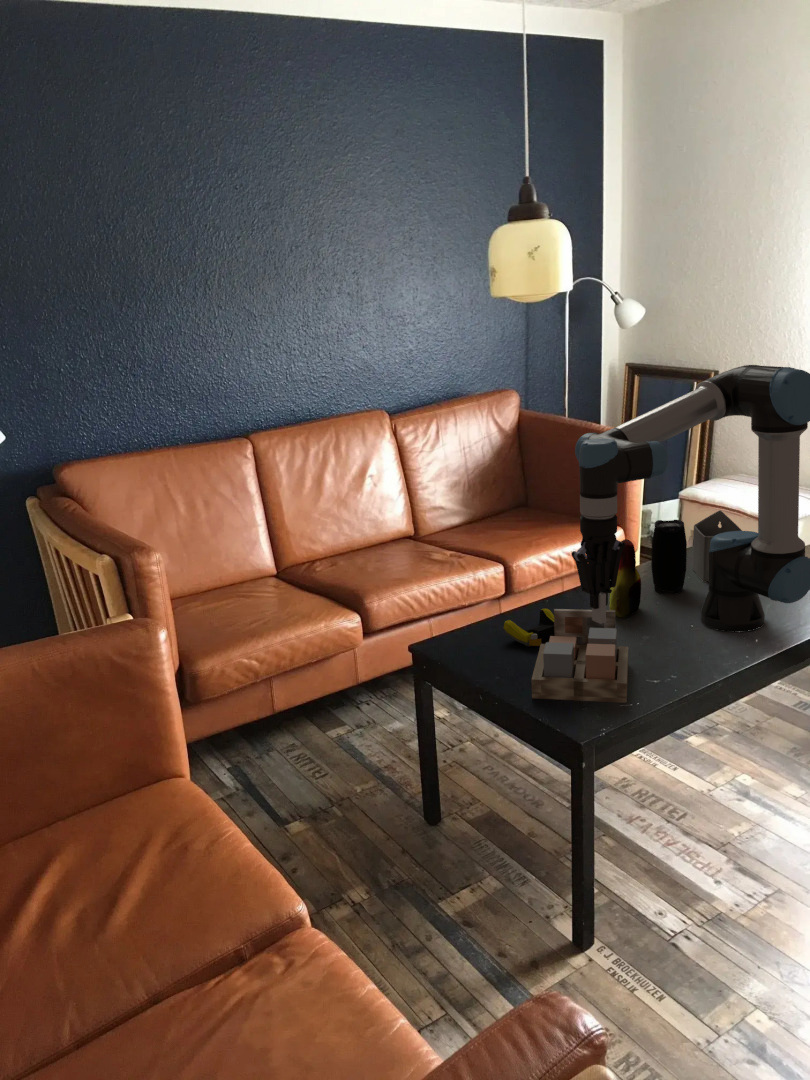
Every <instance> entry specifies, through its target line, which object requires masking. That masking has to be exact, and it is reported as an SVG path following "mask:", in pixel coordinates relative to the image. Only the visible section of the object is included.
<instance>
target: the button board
mask: <svg viewBox="0 0 810 1080" xmlns="http://www.w3.org/2000/svg"><path fill="white" fill-rule="evenodd" d="M553 615H554V630H555V636H567V637H577V660H574V671H573V677H572V678H559V677H544V661H543V653H544V649H545V645H546V644H541V645H540V646H539V651H538V654H537V657H536V661H535V664H534V668H533V673H532V677H531V699H539V700H541V699H543V700H559V701H560V700H563V701H580V702H581V701H582V702H583V701H584V702H600V703H601V702H603V703H604V702H605V703H624V704H625V703H627V699H628V680H629V646H624V645H623V646H621V645H619V646H618V645H617V658H616V671H615V680H606V679H586V649H587V644H588V636H589V630H590V628H616V616H615V610H610V609H606V622H605V623H602V624H600V623H597V622H595V621H593V620H592V609H578V608H577V609H576V608H575V609H574V608H573V609H571V608H569V609H568V608H567V609H565V608H553Z"/></svg>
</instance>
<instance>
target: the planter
mask: <svg viewBox="0 0 810 1080" xmlns="http://www.w3.org/2000/svg"><path fill="white" fill-rule="evenodd" d="M719 524H720V527H719ZM731 531H743V529H741V528H740V527H739V526H738V525H737V524H736V523H735V522H734V521H733V520H732V519H731V518H730V517H729V516H728V515H726V514H725V513H724V512H723V511H722V510H718V511H716V512H714V513H712V514H710V515H709V516H707V517H705V518H704V519H702V520H700V521H699V522H697V523H695V524H694V525H693V536H692V537H693V538H692V539H693V542H692V543H693V547H692V548H693V550H692V552H693V553H692V570H693V569H694V570H693V571H695V572H696V573H695V572H694V573H695V574H696V576H697V575H698V576H699V577H700V578H701V579H702V580H703V581H709V550H710V542H711V539H712V538H713V537H714V536H715V535H717V534H720V533H724V532H731ZM698 576H697V577H698ZM699 577H698V578H699ZM700 578H699V579H700ZM701 579H700V580H701ZM702 580H701V581H702ZM703 581H702V582H703Z"/></svg>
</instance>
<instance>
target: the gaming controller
mask: <svg viewBox="0 0 810 1080" xmlns="http://www.w3.org/2000/svg"><path fill="white" fill-rule="evenodd" d="M503 631H504V632H505V634H506V635H507V636H508V637H509V638H511V639H513V640H514V641H515V642H518V643H520V644H522V645H524V646H525V647H529V648H530V647H540V645H541V644H546V642H549V640H550V636H555V630H554V612H552V611H551V610H550V609H548V608H542V609H540V611H539V621H538V624H537V625H536V626H534V627H531V628H527V629H523V628H522V627H520V626H519V625H517V624H516V623H515V622H514V621H512V620H511V619H508V620H505V621H504V623H503Z"/></svg>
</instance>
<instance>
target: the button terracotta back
mask: <svg viewBox="0 0 810 1080" xmlns="http://www.w3.org/2000/svg"><path fill="white" fill-rule="evenodd" d="M549 642H552V643H574V660H577V637H567V636H550V640H549Z"/></svg>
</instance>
